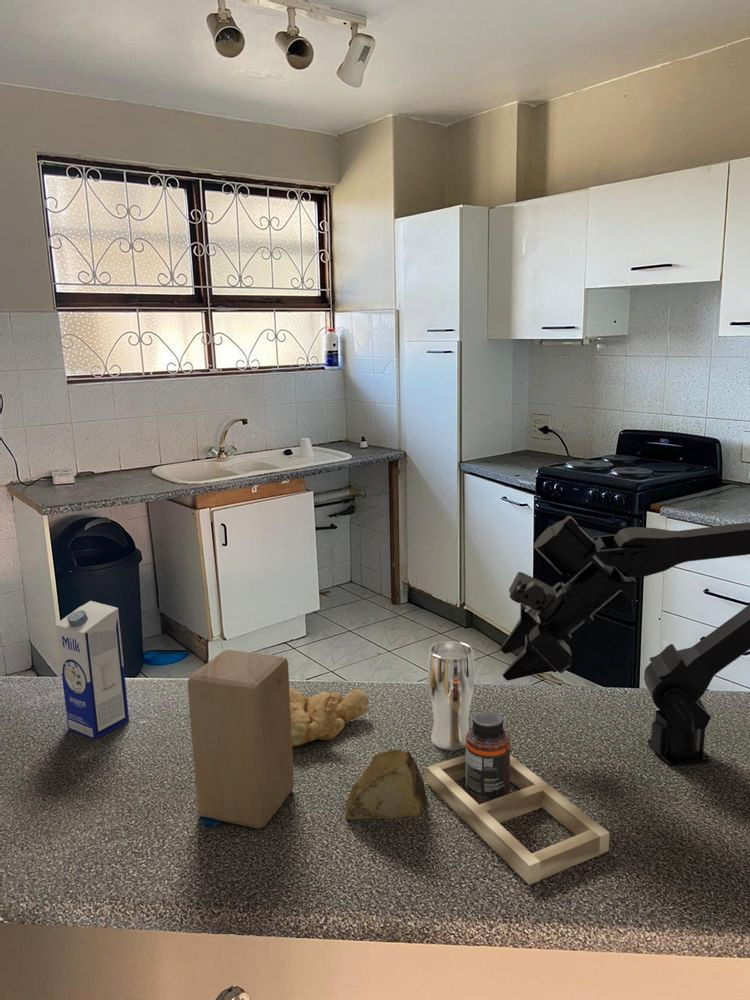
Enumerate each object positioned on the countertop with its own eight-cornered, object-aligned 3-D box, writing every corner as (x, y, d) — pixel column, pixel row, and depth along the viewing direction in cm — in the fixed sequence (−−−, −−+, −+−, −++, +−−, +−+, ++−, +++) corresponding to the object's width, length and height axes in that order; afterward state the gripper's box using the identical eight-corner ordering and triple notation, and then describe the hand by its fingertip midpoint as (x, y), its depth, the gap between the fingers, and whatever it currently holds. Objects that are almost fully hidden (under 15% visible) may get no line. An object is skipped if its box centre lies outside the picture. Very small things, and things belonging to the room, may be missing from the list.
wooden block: (297, 788, 103) (290, 654, 99) (263, 833, 94) (254, 687, 90) (233, 776, 107) (224, 646, 102) (195, 818, 98) (183, 677, 93)
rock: (328, 816, 94) (402, 823, 90) (336, 745, 97) (408, 749, 94) (361, 822, 103) (430, 828, 99) (367, 757, 106) (434, 760, 103)
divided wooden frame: (426, 783, 104) (426, 767, 104) (496, 760, 109) (497, 744, 109) (529, 885, 84) (529, 865, 84) (608, 850, 90) (609, 832, 89)
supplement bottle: (494, 776, 105) (495, 703, 103) (518, 799, 100) (520, 723, 98) (457, 787, 103) (457, 712, 101) (480, 811, 98) (480, 733, 95)
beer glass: (471, 754, 111) (472, 661, 108) (425, 750, 112) (424, 657, 109) (475, 730, 118) (476, 641, 114) (431, 726, 119) (430, 639, 116)
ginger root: (239, 742, 113) (244, 689, 113) (287, 717, 128) (291, 670, 128) (332, 764, 108) (338, 709, 108) (371, 735, 123) (376, 687, 123)
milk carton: (130, 721, 123) (118, 606, 118) (95, 740, 117) (82, 620, 113) (102, 710, 126) (90, 599, 122) (67, 728, 121) (53, 612, 117)
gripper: (538, 540, 116) (466, 605, 120) (549, 578, 98) (464, 653, 102) (588, 589, 117) (514, 652, 120) (608, 636, 98) (521, 708, 102)
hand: (503, 664), depth 111 cm, fingers open, 9 cm apart
